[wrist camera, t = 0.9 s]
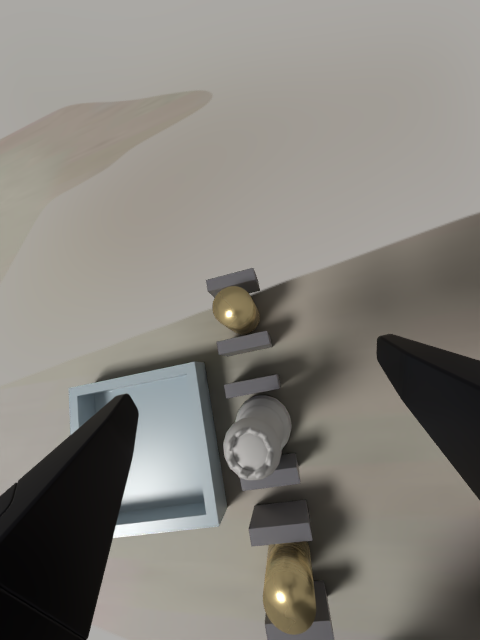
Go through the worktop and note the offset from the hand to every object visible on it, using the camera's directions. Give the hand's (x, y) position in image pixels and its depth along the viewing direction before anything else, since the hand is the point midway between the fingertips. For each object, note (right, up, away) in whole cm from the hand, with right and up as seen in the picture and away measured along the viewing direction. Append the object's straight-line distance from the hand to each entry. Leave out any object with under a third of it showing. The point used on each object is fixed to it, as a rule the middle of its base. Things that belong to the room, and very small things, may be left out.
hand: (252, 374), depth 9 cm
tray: (-8, -9, +13) cm, 18 cm away
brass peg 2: (+3, -15, +10) cm, 18 cm away
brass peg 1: (0, +2, +14) cm, 14 cm away
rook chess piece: (+2, -6, +12) cm, 14 cm away
